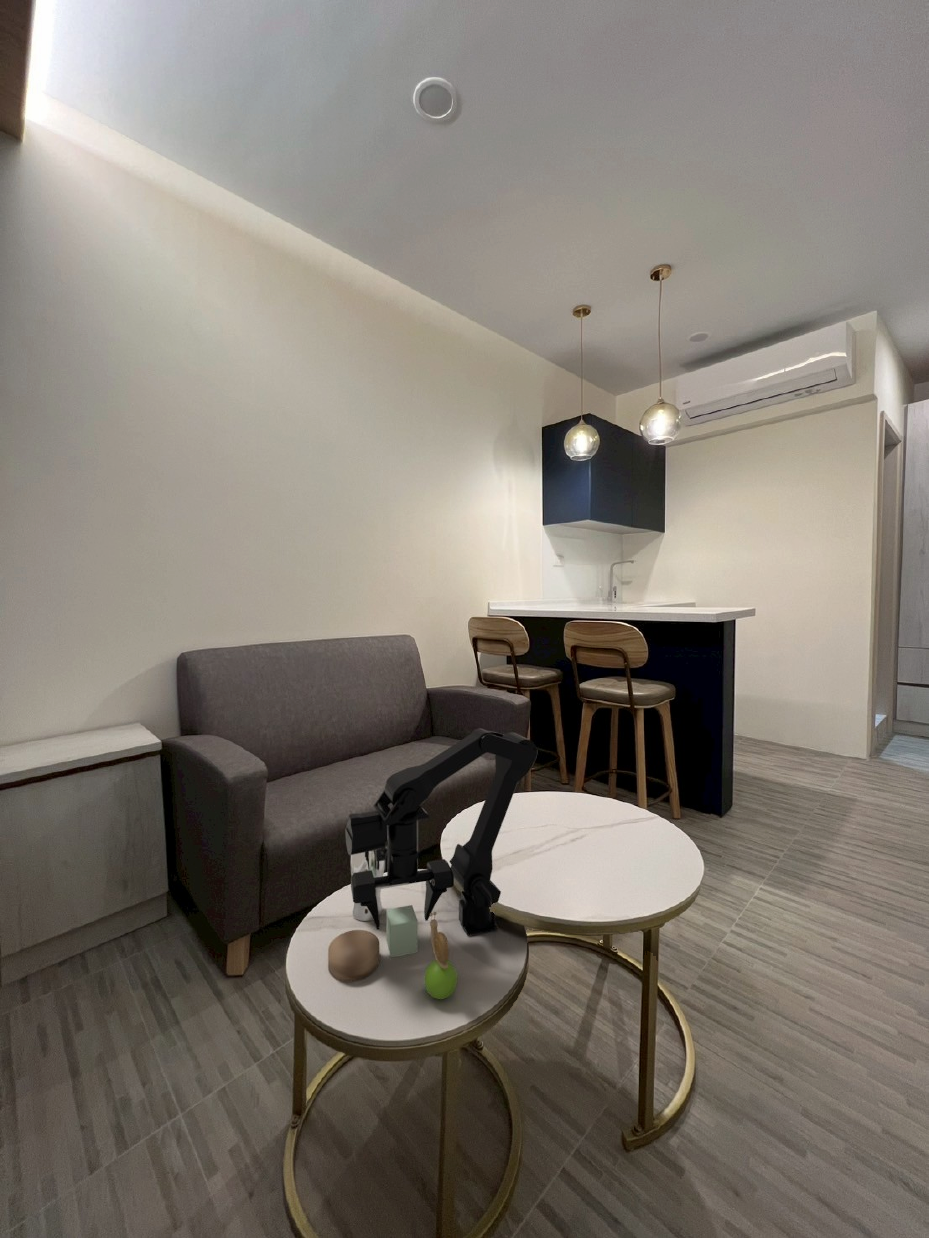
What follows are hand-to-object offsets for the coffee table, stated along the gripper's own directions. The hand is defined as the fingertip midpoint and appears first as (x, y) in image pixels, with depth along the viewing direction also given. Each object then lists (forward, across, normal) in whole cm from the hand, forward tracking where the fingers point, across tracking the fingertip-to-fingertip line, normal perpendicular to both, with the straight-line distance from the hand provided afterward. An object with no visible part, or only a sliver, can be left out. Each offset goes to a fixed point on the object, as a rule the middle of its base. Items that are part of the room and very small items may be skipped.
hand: (402, 923), depth 95 cm
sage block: (+4, 0, 0) cm, 4 cm away
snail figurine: (+4, -4, +13) cm, 14 cm away
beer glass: (+4, +5, -12) cm, 14 cm away
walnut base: (+4, +9, +2) cm, 10 cm away
